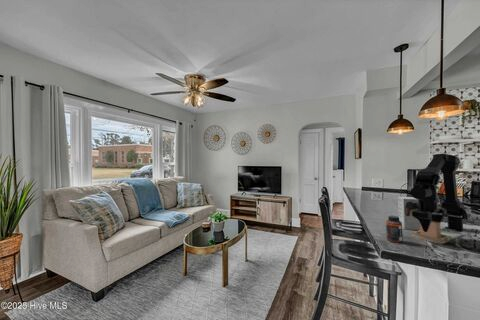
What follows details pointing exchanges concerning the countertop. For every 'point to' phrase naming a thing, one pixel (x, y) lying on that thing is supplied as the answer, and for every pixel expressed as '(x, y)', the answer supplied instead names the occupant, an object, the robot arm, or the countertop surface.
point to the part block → (432, 230)
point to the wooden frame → (437, 240)
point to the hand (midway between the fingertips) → (430, 230)
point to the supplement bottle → (394, 229)
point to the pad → (451, 234)
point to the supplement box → (407, 214)
